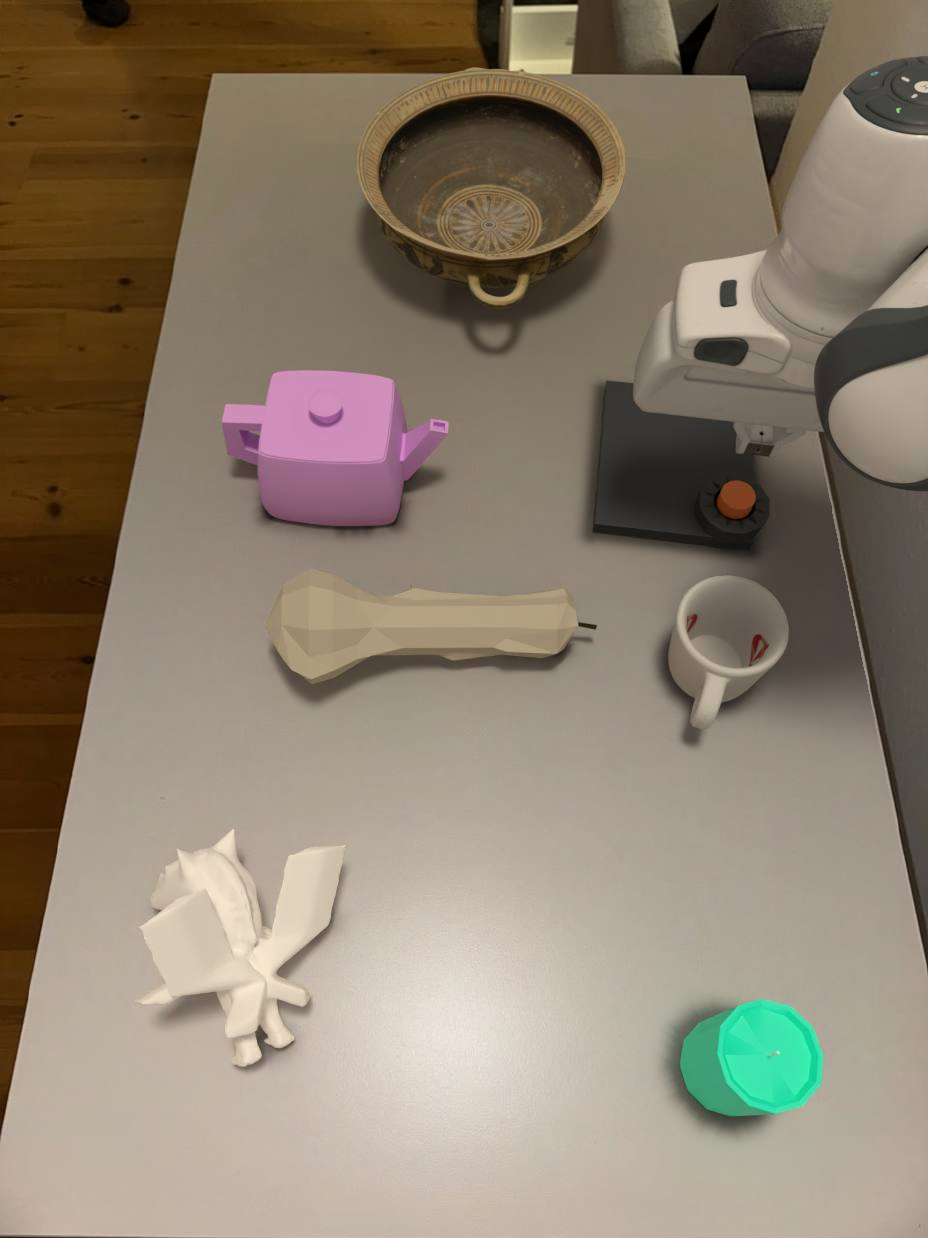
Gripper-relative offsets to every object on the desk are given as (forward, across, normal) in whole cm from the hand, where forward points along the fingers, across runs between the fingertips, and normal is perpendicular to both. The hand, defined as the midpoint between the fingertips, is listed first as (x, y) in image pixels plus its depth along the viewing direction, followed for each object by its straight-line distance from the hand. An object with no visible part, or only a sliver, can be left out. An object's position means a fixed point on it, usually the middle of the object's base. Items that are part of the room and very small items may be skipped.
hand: (754, 448), depth 76 cm
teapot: (+11, +32, 0) cm, 34 cm away
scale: (+10, +4, -5) cm, 12 cm away
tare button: (+8, 0, 0) cm, 8 cm away
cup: (+11, +1, +15) cm, 18 cm away
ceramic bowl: (+11, +23, -29) cm, 39 cm away
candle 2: (+11, +22, +15) cm, 29 cm away
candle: (+10, -1, +42) cm, 43 cm away
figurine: (+11, +32, +39) cm, 52 cm away
